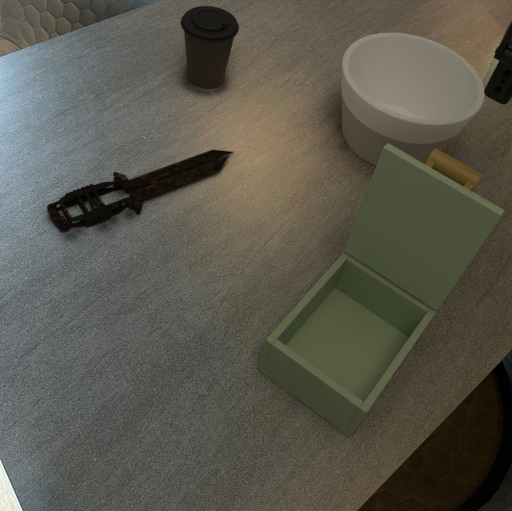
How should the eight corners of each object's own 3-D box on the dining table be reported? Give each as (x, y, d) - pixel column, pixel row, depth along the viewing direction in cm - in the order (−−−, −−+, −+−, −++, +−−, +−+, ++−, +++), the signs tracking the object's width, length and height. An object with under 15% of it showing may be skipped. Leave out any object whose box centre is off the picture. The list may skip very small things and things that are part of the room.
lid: (501, 215, 52) (524, 181, 55) (383, 146, 55) (410, 118, 58) (437, 311, 64) (458, 280, 67) (343, 250, 68) (367, 223, 70)
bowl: (473, 183, 87) (508, 124, 78) (341, 186, 83) (362, 124, 75) (430, 93, 98) (456, 33, 90) (311, 93, 94) (327, 29, 86)
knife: (228, 148, 85) (229, 140, 84) (251, 181, 82) (252, 173, 81) (42, 200, 75) (40, 191, 74) (59, 238, 72) (57, 231, 71)
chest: (349, 438, 62) (366, 413, 57) (256, 369, 65) (265, 339, 60) (417, 341, 70) (437, 311, 65) (331, 283, 73) (344, 250, 68)
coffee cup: (226, 100, 91) (232, 40, 83) (171, 87, 91) (173, 25, 83) (238, 67, 96) (245, 8, 88) (186, 55, 96) (189, -6, 88)
